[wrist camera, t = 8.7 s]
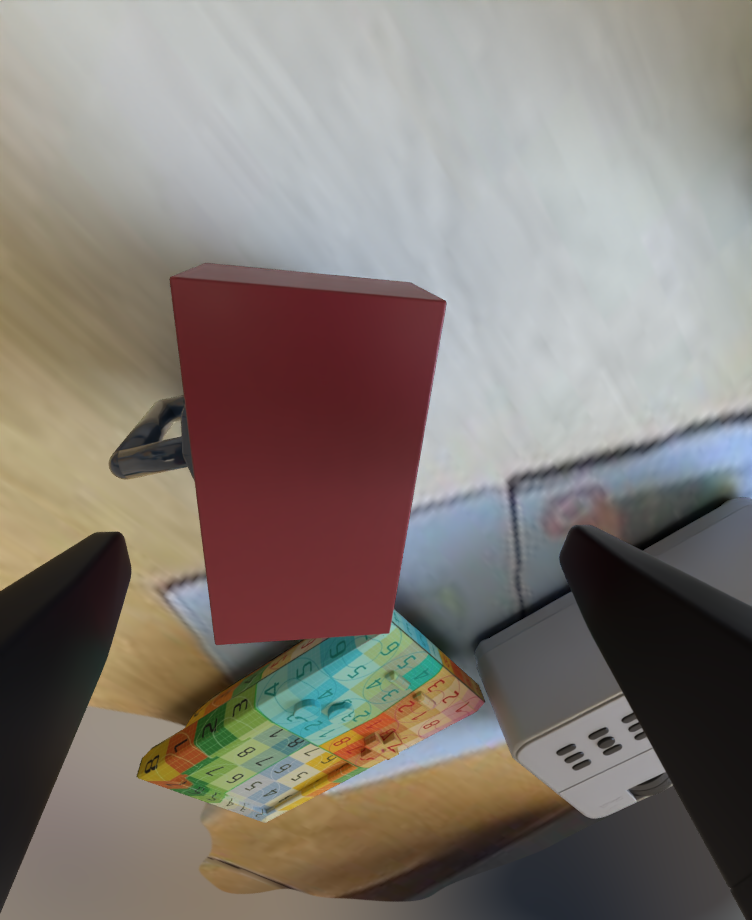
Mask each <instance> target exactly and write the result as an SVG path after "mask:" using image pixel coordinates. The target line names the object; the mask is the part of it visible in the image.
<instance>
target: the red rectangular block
mask: <svg viewBox="0 0 752 920" xmlns="http://www.w3.org/2000/svg"><path fill="white" fill-rule="evenodd" d="M170 287H171V295H172V303H173V311H174V319H175V327H176V335H177V343H178V351H179V359H180V367H181V375H182V383H183V391H184V399H185V407H186V415H187V423H188V431H189V439H190V447H191V455H192V463H193V472H194V480H195V488H196V496H197V504H198V512H199V520H200V528H201V536H202V544H203V552H204V560H205V568H206V576H207V584H208V592H209V600H210V608H211V616H212V624H213V632H214V640H215V644H216V645H224V644H239V643H254V642H269V641H284V640H300V639H315V638H330V637H345V636H360V635H375V634H388V633H390V628H391V622H392V616H393V610H394V605H395V599H396V593H397V587H398V581H399V576H400V570H401V564H402V558H403V553H404V547H405V541H406V535H407V529H408V524H409V518H410V512H411V506H412V500H413V495H414V489H415V483H416V477H417V472H418V466H419V460H420V454H421V448H422V443H423V437H424V431H425V425H426V419H427V414H428V408H429V402H430V396H431V391H432V385H433V379H434V373H435V367H436V362H437V356H438V350H439V344H440V338H441V333H442V327H443V321H444V315H445V310H446V304H447V303H446V301H445V300H443V299H441V298H439V297H437V296H435V295H433V294H431V293H430V292H428V291H426V290H424V289H422V288H420V287H418V286H416V285H414V284H412V283H410V282H400V281H390V280H379V279H369V278H358V277H348V276H337V275H327V274H316V273H306V272H295V271H285V270H274V269H264V268H253V267H243V266H232V265H222V264H211V263H204V264H202V265H199V266H197V267H194V268H192V269H189V270H186V271H184V272H181V273H179V274H176V275H174V276H171V277H170Z"/></svg>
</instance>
